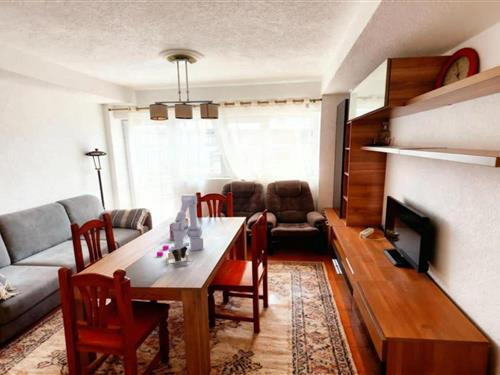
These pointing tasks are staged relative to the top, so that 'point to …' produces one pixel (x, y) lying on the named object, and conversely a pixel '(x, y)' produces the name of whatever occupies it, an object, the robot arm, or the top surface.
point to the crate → (171, 258)
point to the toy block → (164, 247)
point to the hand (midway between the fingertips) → (179, 259)
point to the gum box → (183, 229)
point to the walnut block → (179, 254)
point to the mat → (180, 264)
